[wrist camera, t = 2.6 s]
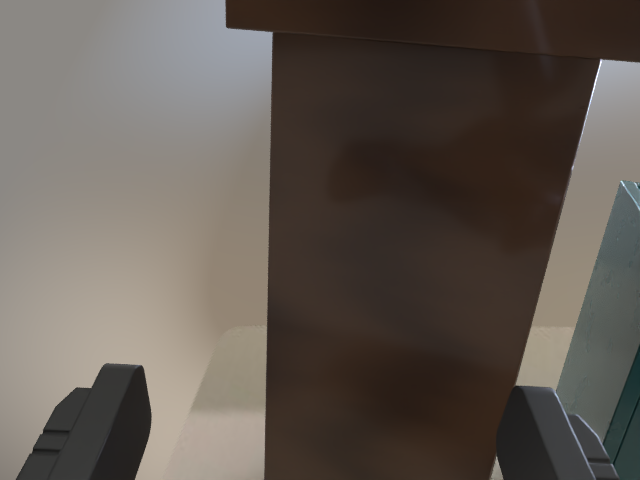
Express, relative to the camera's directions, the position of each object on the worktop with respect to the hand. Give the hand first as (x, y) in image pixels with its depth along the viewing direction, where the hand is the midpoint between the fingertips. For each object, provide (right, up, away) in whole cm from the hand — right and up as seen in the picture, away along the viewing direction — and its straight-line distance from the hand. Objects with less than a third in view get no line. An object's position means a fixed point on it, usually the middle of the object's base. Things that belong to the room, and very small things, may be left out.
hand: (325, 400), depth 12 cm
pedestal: (+3, -15, +22) cm, 27 cm away
